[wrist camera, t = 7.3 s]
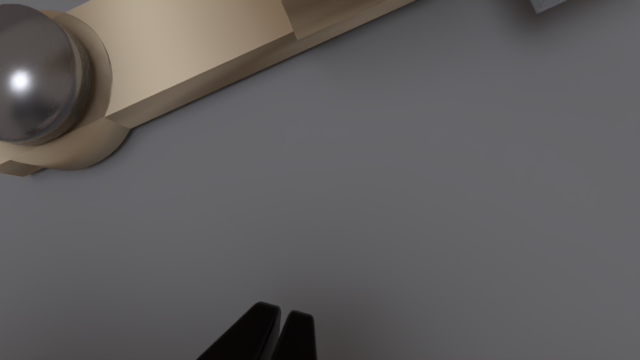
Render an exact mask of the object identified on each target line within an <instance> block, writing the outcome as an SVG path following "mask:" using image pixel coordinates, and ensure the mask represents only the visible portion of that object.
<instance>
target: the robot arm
mask: <svg viewBox="0 0 640 360" xmlns="http://www.w3.org/2000/svg"><path fill="white" fill-rule="evenodd" d="M280 321H281V308H280V307H279V306H278V305H274V304H270V303H266V302H263V301H259V302H257V303H255V304H254V305H253V306H252V307H251V308H250V309H249V310H247V311H246V312H245V313H244V314H243V315H242V316H241V317H240V318H239V319H238V320H237V321H236V322H235V323H234V324H233V325H232V326H231V327H230V328H229V329H227V330H226V331H225V332H224V333H223V334H222V335H221V336H220V337H219V338H218V339H217V340H216V341H215V342H214V343H213V344H212V345H211V346H210V347H209V348H207V349H206V350H205V351H204V352H203V353H202V354H201V355H200V356H199V357H198V358H197V359H196V360H318V359H317V347H316V334H315V322H314V317H313V315H311V314H308V313H305V312H301V311H297V310H292V311H290V312H289V314H288V316H287V319H286V321H285V324H284V326H283V329H282V331H281V334H280V336H279V333H280Z"/></svg>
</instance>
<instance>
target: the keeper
mask: <svg viewBox="0 0 640 360" xmlns="http://www.w3.org/2000/svg"><path fill="white" fill-rule="evenodd" d="M530 1H531V3H532V5H533V7H534V9H535V11H536V13H537V14H538V13H540V12H542V11H545V10H547V9H549V8H551V7H553V6H556V5H558V4H560V3H562V2H564V1H567V0H530ZM91 79H92V75H91V66H90V62H89V58H88V56H87V53H86V51H85V49H84V47H83V45H82V44H81V43H80V41H79V40H78V39H77V38H76V37H75V36H74V35H73V34H72V33H71V32H70V31H68V30H67V29H66V28H64V27H63V26H61V25H60V24H58V23H57V22H55V21H54V20H52V19H51V18H49V17H48V16H46V15H45V14H43V13H42V12H40V11H38V10H36V9H34V8H31V7H29V6H25V5H21V4H1V5H0V141H2V142H6V143H10V144H14V145H21V146H31V145H38V144H42V143H45V142H48V141H50V140H52V139H55V138H56V137H58V136H60V135H61V134H63V133H64V132H65V131H66V130H68V129H69V128H70V127H71V126H72V125H73V124H74V123H75V121H76V120H77V119H78V118H79V116H80V115H81V113H82V111H83V110H84V107H85V105H86V103H87V101H88V97H89V94H90V89H91Z"/></svg>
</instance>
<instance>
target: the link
mask: <svg viewBox="0 0 640 360" xmlns="http://www.w3.org/2000/svg"><path fill="white" fill-rule="evenodd" d="M413 1H415V0H90V1H88V2H86V3H84V4H82V5H80V6H77V7H75V8H73V9H71V10H69V11H67V12H65V13H64V12H61V11H55V10H38V11H40V12H42V13H43V14H45V15H46V16H48V17H49V18H51V19H52V20H54V21H55V22H57V23H58V24H60V25H61V26H63V27H64V28H66V29H67V30H68V31H70V32H71V33H72V34H73V35H74V36H75V37H76V38H77V39H78V40H79V41H80V43H81V44H82V45H83V47H84V49H85V51H86V53H87V56H88V58H89V62H90V66H91V75H92V79H91V89H90V94H89V97H88V101H87V103H86V105H85V107H84V110H83V111H82V113H81V115H80V116H79V118H78V119H77V120H76V121H75V123H74V124H73V125H72V126H71V127H70V128H69V129H68V130H66V131H65V132H64V133H63V134H61V135H60V136H58V137H56V138H55V139H52V140H50V141H48V142H45V143H42V144H38V145H31V146H21V145H14V144H10V143H6V142H2V141H0V173H3V174H9V175H15V176H21V177H25V176H27V175H29V174H31V173H34V172H36V171H38V170H40V169H42V168H49V169H54V170H65V171H68V170H77V169H82V168H86V167H88V166H91V165H94V164H96V163H97V162H99V161H101V160H103V159H104V158H106V157H107V156H109V155H110V154H111V153H112V152H113V151H114V150H115V149H116V148H117V147H118V146H119V145H120V144H121V143H122V141H123V140H124V139H125V137H126V136H127V134H128V132H129V130H130V129H131V128H133V127H136V126H138V125H140V124H142V123H145V122H147V121H149V120H151V119H153V118H156V117H158V116H160V115H162V114H164V113H167V112H169V111H171V110H173V109H176V108H178V107H180V106H182V105H184V104H187V103H189V102H191V101H193V100H196V99H198V98H200V97H202V96H204V95H207V94H209V93H211V92H213V91H216V90H218V89H220V88H222V87H224V86H227V85H229V84H231V83H233V82H236V81H238V80H240V79H242V78H244V77H247V76H249V75H251V74H253V73H256V72H258V71H260V70H262V69H264V68H267V67H269V66H271V65H273V64H276V63H278V62H280V61H282V60H284V59H287V58H289V57H291V56H293V55H295V54H298V53H300V52H302V51H304V50H307V49H309V48H311V47H313V46H315V45H318V44H320V43H322V42H324V41H327V40H329V39H331V38H333V37H335V36H338V35H340V34H342V33H344V32H347V31H349V30H351V29H353V28H355V27H358V26H360V25H362V24H364V23H367V22H369V21H371V20H373V19H375V18H378V17H380V16H382V15H384V14H387V13H389V12H391V11H393V10H395V9H398V8H400V7H402V6H404V5H406V4H409V3H411V2H413Z"/></svg>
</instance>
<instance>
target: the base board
mask: <svg viewBox="0 0 640 360" xmlns="http://www.w3.org/2000/svg"><path fill="white" fill-rule="evenodd" d="M88 1H90V0H0V5H1V4H21V5H25V6H29V7H31V8H34V9H36V10H55V11H61V12H64V13H65V12H67V11H69V10H71V9H73V8H75V7H77V6H80V5H82V4H84V3H86V2H88ZM259 301H263V302H266V303H270V304H274V305H278V306H279V307H280V308H281V321H280V333H279V336H280V334H281V331H282V329H283V326H284V324H285V321H286V319H287V316H288V314H289V312H290V311H292V310H297V311H301V312H305V313H308V314H311V315H313V317H314V322H315V334H316V347H317V359H318V360H640V0H567V1H564V2H562V3H560V4H558V5H556V6H553V7H551V8H549V9H547V10H545V11H542V12H540V13H538V14H537V13H536V11H535V9H534V7H533V5H532V3H531V1H530V0H415V1H413V2H411V3H409V4H406V5H404V6H402V7H400V8H398V9H395V10H393V11H391V12H389V13H387V14H384V15H382V16H380V17H378V18H375V19H373V20H371V21H369V22H367V23H364V24H362V25H360V26H358V27H355V28H353V29H351V30H349V31H347V32H344V33H342V34H340V35H338V36H335V37H333V38H331V39H329V40H327V41H324V42H322V43H320V44H318V45H315V46H313V47H311V48H309V49H307V50H304V51H302V52H300V53H298V54H295V55H293V56H291V57H289V58H287V59H284V60H282V61H280V62H278V63H276V64H273V65H271V66H269V67H267V68H264V69H262V70H260V71H258V72H256V73H253V74H251V75H249V76H247V77H244V78H242V79H240V80H238V81H236V82H233V83H231V84H229V85H227V86H224V87H222V88H220V89H218V90H216V91H213V92H211V93H209V94H207V95H204V96H202V97H200V98H198V99H196V100H193V101H191V102H189V103H187V104H184V105H182V106H180V107H178V108H176V109H173V110H171V111H169V112H167V113H164V114H162V115H160V116H158V117H156V118H153V119H151V120H149V121H147V122H145V123H142V124H140V125H138V126H136V127H133V128H131V129H130V130H129V132H128V134H127V136H126V137H125V139H124V140H123V141H122V143H121V144H120V145H119V146H118V147H117V148H116V149H115V150H114V151H113V152H112V153H111V154H110V155H109V156H107V157H106V158H104V159H103V160H101V161H99V162H97V163H96V164H94V165H91V166H88V167H86V168H82V169H77V170H68V171H65V170H54V169H49V168H42V169H40V170H38V171H36V172H34V173H31V174H29V175H27V176H25V177H21V176H15V175H9V174H3V173H0V360H196V359H197V358H198V357H199V356H200V355H201V354H202V353H203V352H204V351H205V350H206V349H207V348H209V347H210V346H211V345H212V344H213V343H214V342H215V341H216V340H217V339H218V338H219V337H220V336H221V335H222V334H223V333H224V332H225V331H226V330H227V329H229V328H230V327H231V326H232V325H233V324H234V323H235V322H236V321H237V320H238V319H239V318H240V317H241V316H242V315H243V314H244V313H245V312H246V311H247V310H249V309H250V308H251V307H252V306H253V305H254V304H255V303H257V302H259Z"/></svg>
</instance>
